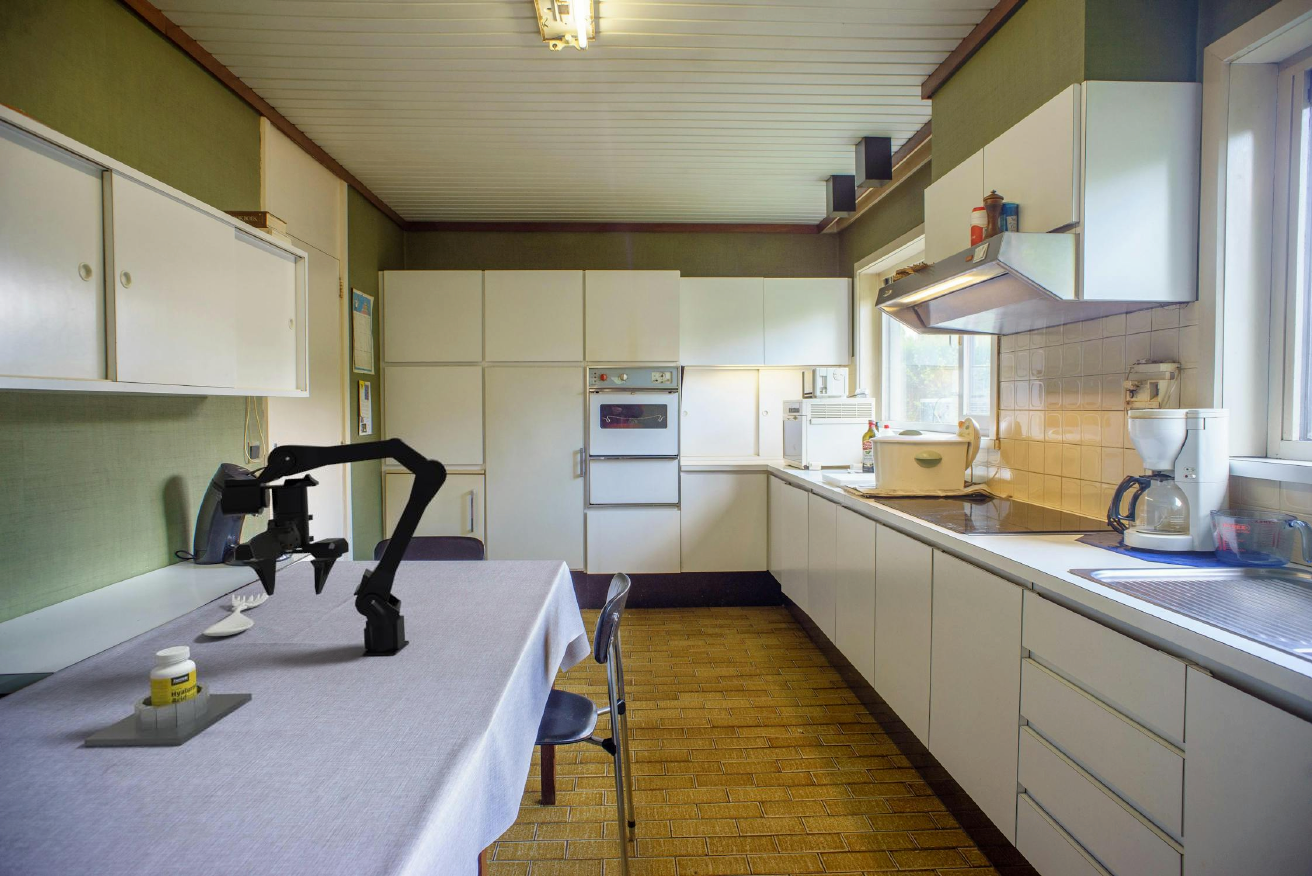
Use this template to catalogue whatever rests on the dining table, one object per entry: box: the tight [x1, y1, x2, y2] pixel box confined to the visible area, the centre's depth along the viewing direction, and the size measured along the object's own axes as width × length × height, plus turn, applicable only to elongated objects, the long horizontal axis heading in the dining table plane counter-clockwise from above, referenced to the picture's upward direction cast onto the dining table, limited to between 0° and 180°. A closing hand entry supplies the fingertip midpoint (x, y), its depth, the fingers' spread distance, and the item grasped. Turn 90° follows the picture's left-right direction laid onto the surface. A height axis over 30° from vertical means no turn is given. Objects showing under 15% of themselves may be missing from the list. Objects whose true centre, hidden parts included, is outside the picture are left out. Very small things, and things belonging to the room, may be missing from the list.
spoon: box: [202, 591, 270, 637], centre depth 142 cm, size 9×32×4 cm, turn 24°
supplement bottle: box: [149, 645, 197, 706], centre depth 92 cm, size 5×5×10 cm
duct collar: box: [83, 682, 253, 748], centre depth 91 cm, size 14×14×4 cm
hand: (294, 594), depth 113 cm, fingers open, 9 cm apart
